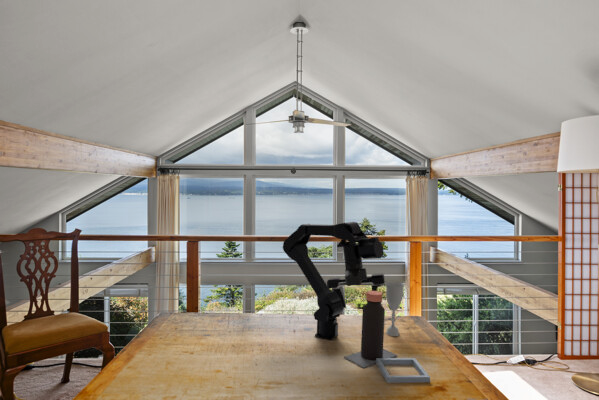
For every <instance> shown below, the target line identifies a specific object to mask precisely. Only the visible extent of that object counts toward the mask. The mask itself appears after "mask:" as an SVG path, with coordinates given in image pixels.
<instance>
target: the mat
mask: <svg viewBox="0 0 599 400" xmlns="http://www.w3.org/2000/svg"><path fill="white" fill-rule="evenodd" d="M397 357H398V354H397V353H393V352H391V351H389V350H387V349H385V348H383V357H382V358H397ZM343 358H344V359H345V358H346V359H345V360H347V361H349V362H351V363H353V364H354V363H355V365H356V364H357V366H358V367H360V368H362V369H366V368H369V367H372V366H375V365H377V364H376V360H368V359H365V358H364V357H362V356H361V350H360V351H358V352H357V351H356V352H355V353H351V354H349V355H345V356H343Z"/></svg>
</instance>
